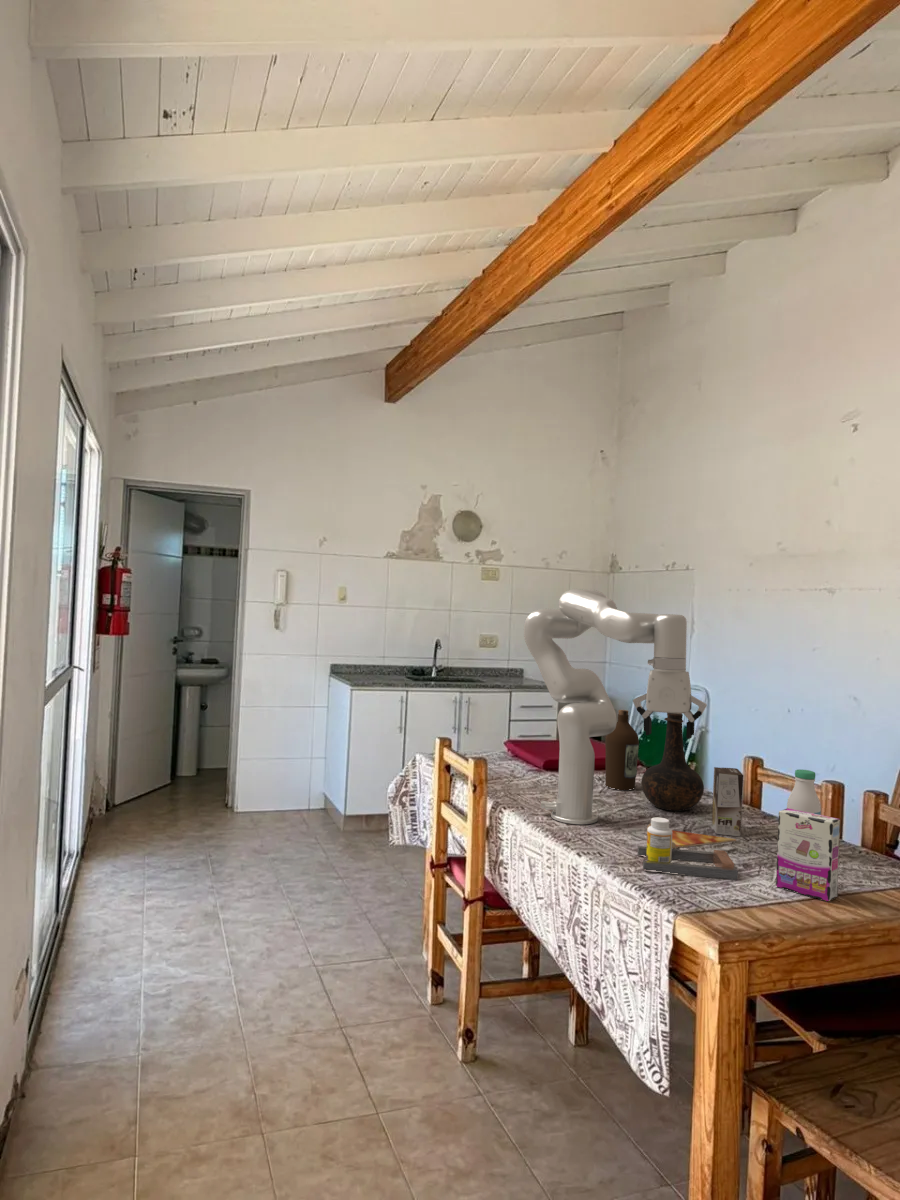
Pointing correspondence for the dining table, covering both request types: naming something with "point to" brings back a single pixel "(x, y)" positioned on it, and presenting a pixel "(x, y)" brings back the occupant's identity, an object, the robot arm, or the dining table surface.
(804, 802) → the milk bottle
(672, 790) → the dark brown vase
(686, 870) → the frame
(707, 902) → the dining table surface
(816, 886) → the candy bar box
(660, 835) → the supplement bottle
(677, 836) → the pizza slice
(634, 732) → the olive oil
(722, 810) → the coffee box
